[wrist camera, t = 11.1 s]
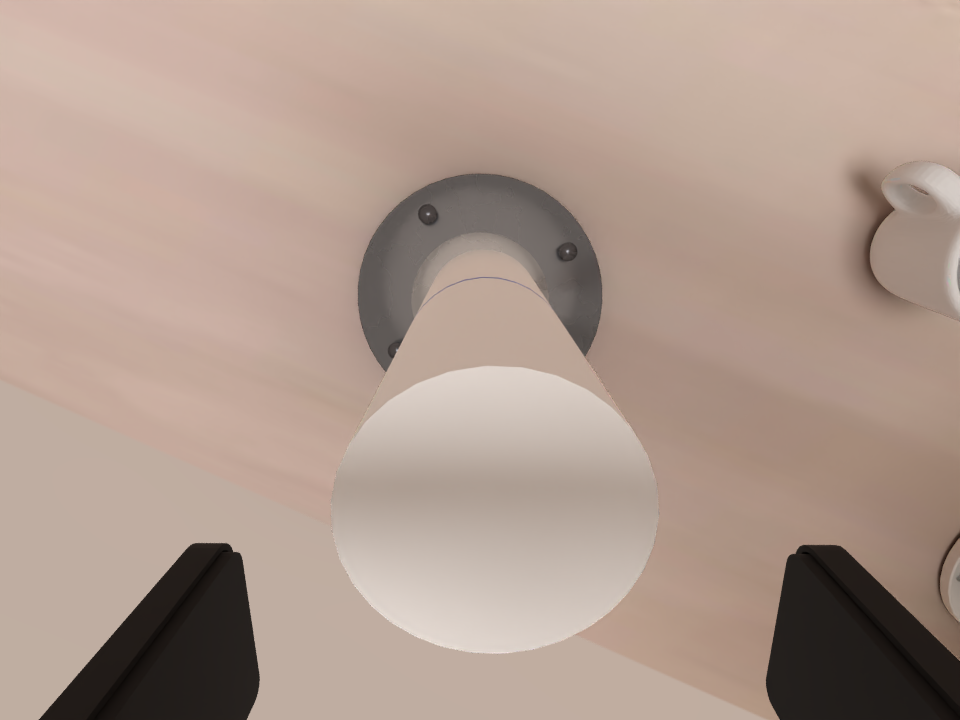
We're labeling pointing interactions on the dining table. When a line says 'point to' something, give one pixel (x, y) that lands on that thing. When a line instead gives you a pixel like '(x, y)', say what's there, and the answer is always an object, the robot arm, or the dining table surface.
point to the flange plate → (471, 226)
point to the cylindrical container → (492, 474)
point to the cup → (921, 237)
